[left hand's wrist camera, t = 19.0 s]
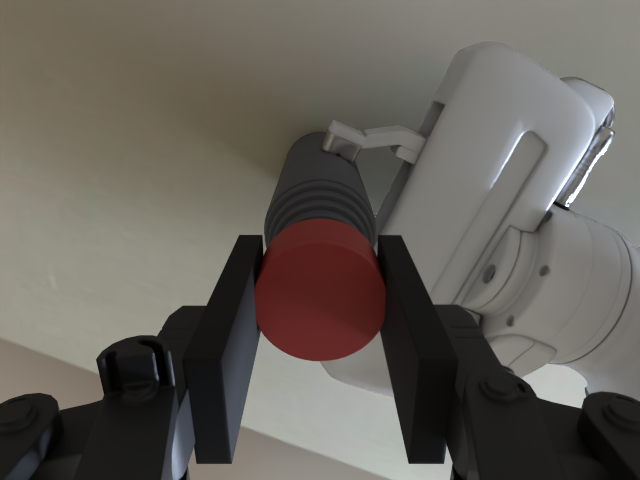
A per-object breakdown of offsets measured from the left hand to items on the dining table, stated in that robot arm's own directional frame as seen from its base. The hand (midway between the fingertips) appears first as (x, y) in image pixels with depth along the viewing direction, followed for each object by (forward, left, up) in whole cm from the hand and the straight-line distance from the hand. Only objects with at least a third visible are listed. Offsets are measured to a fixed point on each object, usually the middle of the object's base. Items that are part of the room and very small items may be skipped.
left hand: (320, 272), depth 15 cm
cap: (0, 0, +2) cm, 2 cm away
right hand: (-1, 0, -10) cm, 10 cm away
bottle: (0, 0, -16) cm, 16 cm away
